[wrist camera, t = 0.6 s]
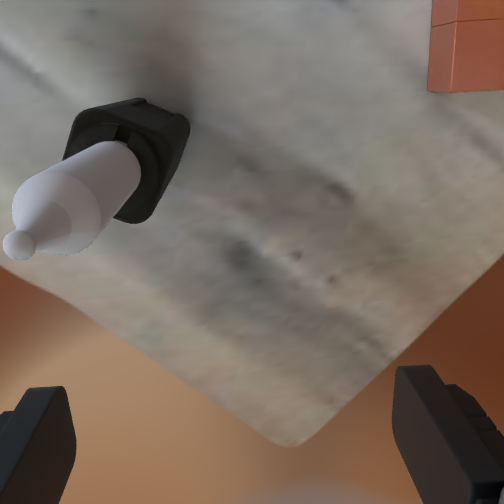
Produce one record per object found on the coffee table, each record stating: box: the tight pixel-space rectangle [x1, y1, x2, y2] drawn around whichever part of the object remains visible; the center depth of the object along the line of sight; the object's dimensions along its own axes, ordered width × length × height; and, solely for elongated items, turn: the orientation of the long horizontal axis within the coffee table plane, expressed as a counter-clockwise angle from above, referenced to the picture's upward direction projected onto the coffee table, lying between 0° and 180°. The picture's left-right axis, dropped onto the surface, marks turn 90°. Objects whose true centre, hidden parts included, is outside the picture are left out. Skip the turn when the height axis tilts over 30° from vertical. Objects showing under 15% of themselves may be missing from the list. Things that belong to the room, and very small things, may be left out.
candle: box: [3, 98, 190, 260], centre depth 25 cm, size 5×5×25 cm
